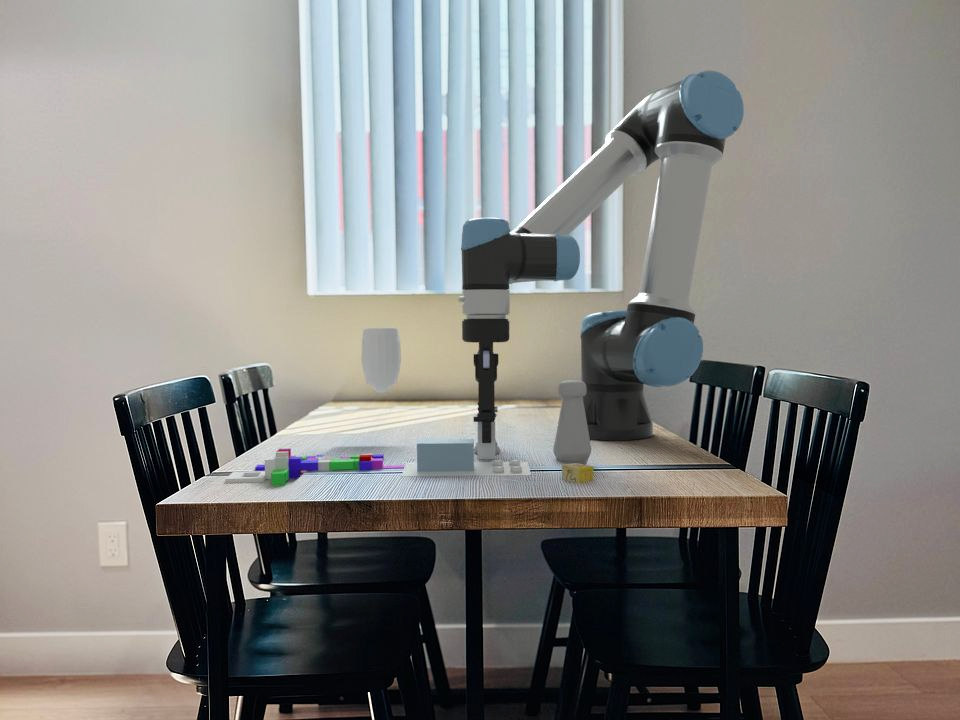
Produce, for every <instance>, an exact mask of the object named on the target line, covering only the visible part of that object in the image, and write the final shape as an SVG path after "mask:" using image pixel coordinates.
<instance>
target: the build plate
mask: <svg viewBox="0 0 960 720" xmlns="http://www.w3.org/2000/svg"><path fill="white" fill-rule="evenodd" d="M487 476H488V477H490V476H491V477H495V476H498V477H501V476H502V477H504V476H506V477H507V476H508V477H510V476H516V477H517V476H522V477H523V476H532V473H531V469H530V466H529V463H528V461H521V460H519V459H511V460H509V461H504V460H501V459H492V460H491V461H474V471H436V472H417V461H416V462H412V461H411V462H407V463H406V466H404V468H403V471H402V472H401V476H400V477H487Z"/></svg>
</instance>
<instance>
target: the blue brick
mask: <svg viewBox="0 0 960 720" xmlns="http://www.w3.org/2000/svg"><path fill="white" fill-rule="evenodd" d="M474 442H475V441H474V438H419V439H418V441H417V442H416V462H417V472H436V471H474V462H475V452H474V448H475V446H474V444H475V443H474Z"/></svg>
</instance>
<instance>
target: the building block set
mask: <svg viewBox="0 0 960 720" xmlns="http://www.w3.org/2000/svg"><path fill="white" fill-rule="evenodd" d="M291 450H292V449H291V448H279V449H277V451H276V452H275V456H274V457H266V458H265V459H264V464H257V465H256V466H255V469H254V470H253V471H251V470H250V471H232V472H231V473H230V474H229V475H228V476H227V477H226V478H225V483H226V484H228V483H232V484H235V483H264V482H265V481H266V480H270V482H271V483H272V484H271V486H272V487H277V486H279V487H280V486H286V484H287V482H288V481H289V480H290V479H299V478H301V477H302V476H303V475H304V474H305V473H306V472H308V471H311V472H317V471H318V472H319V471H320V472H321V471H323V472H325V471H338V470H340V471H341V470H348V471H355V470H357V471H360V472H361V471H363V472H364V471H366V472H367V471H372V470H390V469H393V470H394V469H395V470H396V469H398V470H399V469H405V466H404V465H403V464H402V465H401V464H399V465H397V464H395V465H384V457H385V456H384V455H385V454H384V453H380V454H379V453H378V454H377V453H376V454H373V453H362V454H350V456H341V457H340V458H334V459H332V458H331V459H327V458H326V459H322V457H324V454H317V455H311V456H310V455H308V456H307V455H306V456H305V455H304V456H296V455H292V451H291Z"/></svg>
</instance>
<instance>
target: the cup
mask: <svg viewBox="0 0 960 720" xmlns="http://www.w3.org/2000/svg"><path fill="white" fill-rule="evenodd" d="M401 362H402V351H401V338H400V335H399V328H398V327H364V328H363V331H362V339H361V363H362V364H361V365H362V370H363V375H364V379H365V381H366V383H367V385H370V387H371V388H372V389H373V390H374V391H375V392H378V393H380V394H383V393H385V392H388V391H389V390H390V389H391V388H392V387H393V385H395V384H396V383H397V381H398V378H399V374H400V371H401V370H400V369H401Z"/></svg>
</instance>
